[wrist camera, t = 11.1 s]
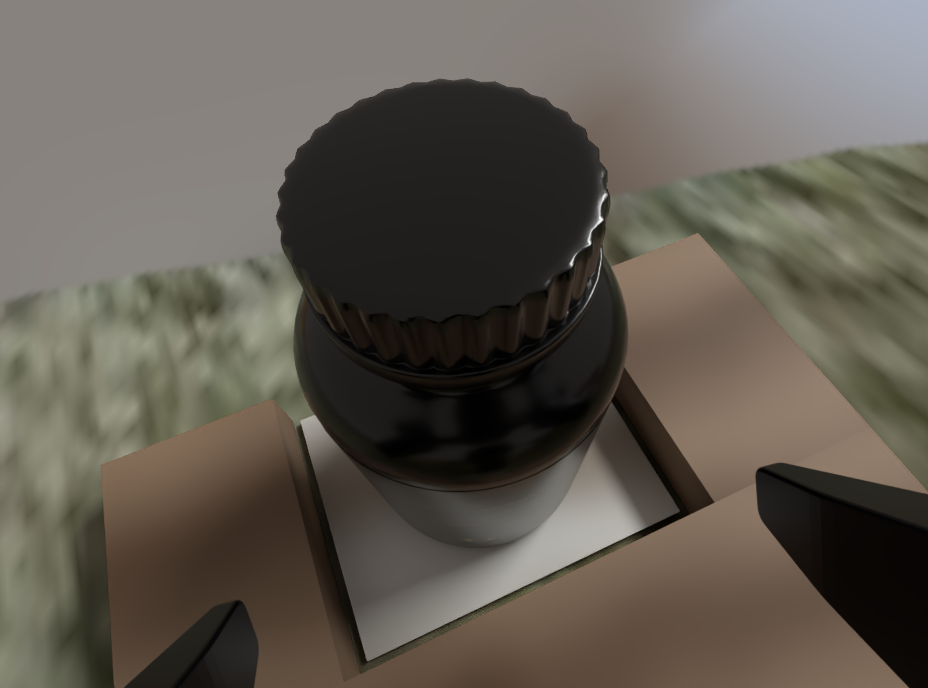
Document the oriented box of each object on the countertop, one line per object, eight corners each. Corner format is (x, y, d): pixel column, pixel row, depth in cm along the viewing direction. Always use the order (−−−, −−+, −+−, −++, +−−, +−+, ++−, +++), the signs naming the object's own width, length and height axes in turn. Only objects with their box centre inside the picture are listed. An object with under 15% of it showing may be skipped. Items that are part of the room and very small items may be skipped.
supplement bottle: (385, 359, 20) (262, 41, 9) (567, 359, 19) (652, 26, 9) (363, 553, 16) (128, 392, 6) (584, 557, 16) (755, 394, 5)
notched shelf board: (976, 621, 15) (1040, 618, 13) (196, 1071, 11) (141, 1149, 10) (681, 266, 21) (698, 233, 20) (139, 482, 18) (101, 465, 16)
